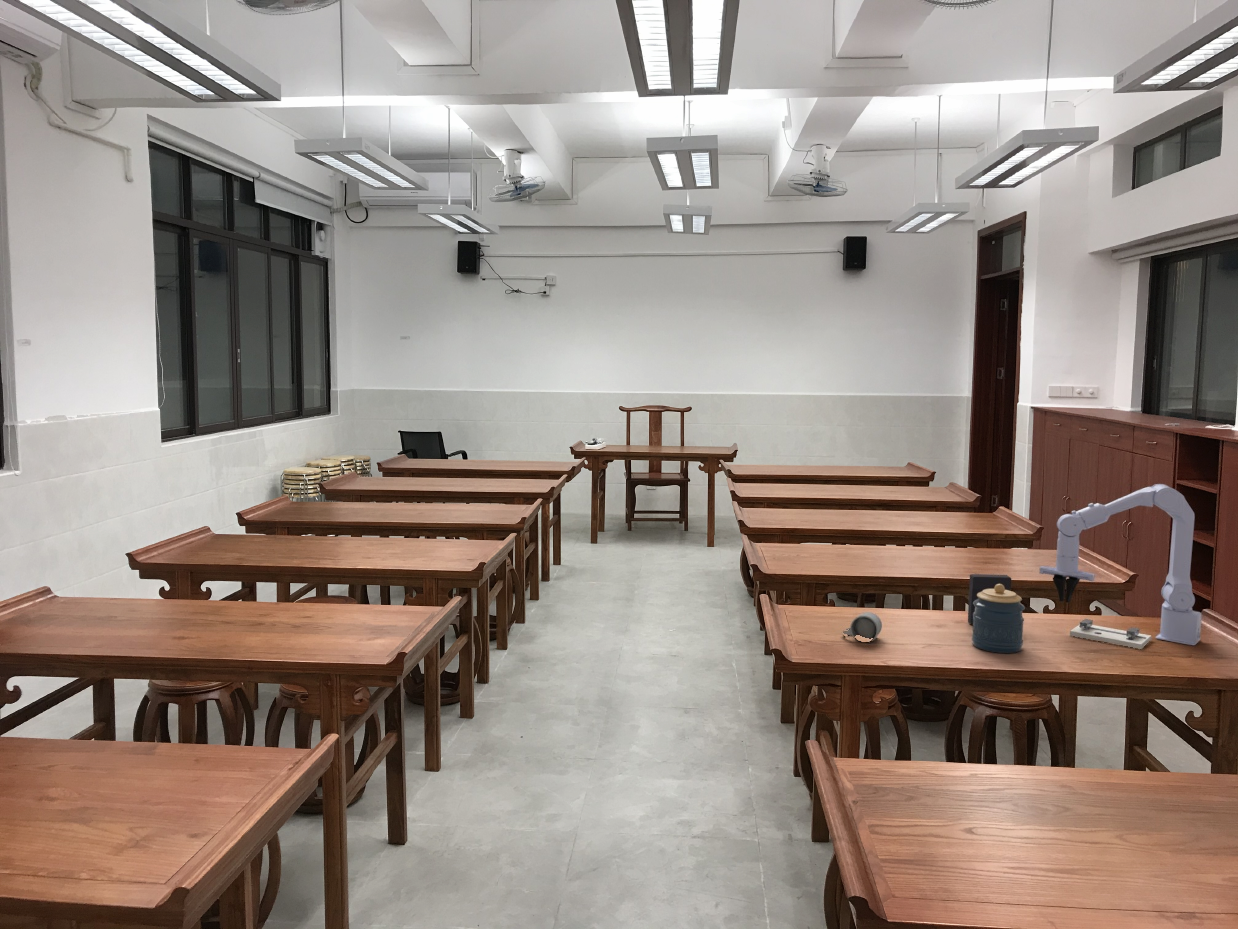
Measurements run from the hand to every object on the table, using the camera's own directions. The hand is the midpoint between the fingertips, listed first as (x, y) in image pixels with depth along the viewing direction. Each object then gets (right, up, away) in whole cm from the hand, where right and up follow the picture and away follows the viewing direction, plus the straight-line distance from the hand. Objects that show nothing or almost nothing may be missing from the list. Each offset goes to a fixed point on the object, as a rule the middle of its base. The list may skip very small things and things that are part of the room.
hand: (1065, 601), depth 257 cm
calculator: (-20, -8, +6) cm, 23 cm away
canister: (-27, -10, -16) cm, 33 cm away
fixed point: (+13, -8, -12) cm, 19 cm away
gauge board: (+9, -9, -8) cm, 15 cm away
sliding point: (+4, -7, -4) cm, 9 cm away
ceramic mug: (-62, -10, -8) cm, 63 cm away
